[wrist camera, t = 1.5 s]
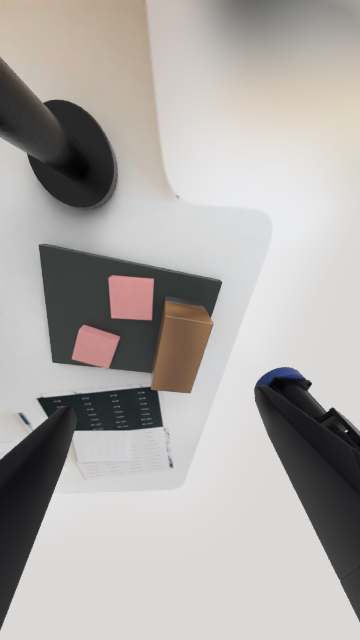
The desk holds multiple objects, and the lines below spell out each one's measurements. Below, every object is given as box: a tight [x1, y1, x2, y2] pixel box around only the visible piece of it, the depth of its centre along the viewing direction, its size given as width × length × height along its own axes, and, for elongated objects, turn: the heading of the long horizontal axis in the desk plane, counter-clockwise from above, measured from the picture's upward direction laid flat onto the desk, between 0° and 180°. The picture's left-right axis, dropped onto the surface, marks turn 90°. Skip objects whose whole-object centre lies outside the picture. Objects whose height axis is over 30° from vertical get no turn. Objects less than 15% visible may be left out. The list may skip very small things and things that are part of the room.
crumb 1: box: [72, 325, 120, 369], centre depth 19 cm, size 4×4×1 cm
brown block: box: [151, 296, 213, 393], centre depth 18 cm, size 4×8×5 cm, turn 168°
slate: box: [39, 244, 222, 373], centre depth 20 cm, size 17×13×1 cm
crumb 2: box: [108, 275, 154, 320], centre depth 17 cm, size 4×4×1 cm
